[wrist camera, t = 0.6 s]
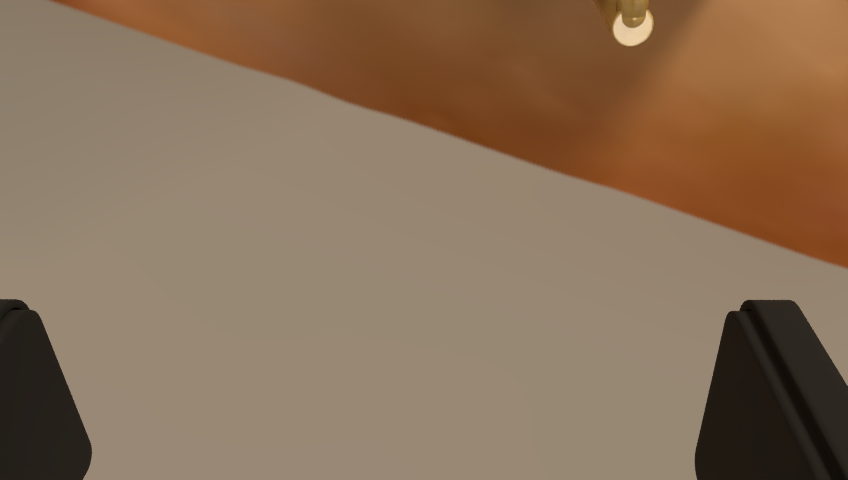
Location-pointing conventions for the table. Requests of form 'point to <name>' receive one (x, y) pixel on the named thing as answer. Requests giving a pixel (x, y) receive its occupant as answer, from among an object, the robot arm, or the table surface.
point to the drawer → (627, 20)
